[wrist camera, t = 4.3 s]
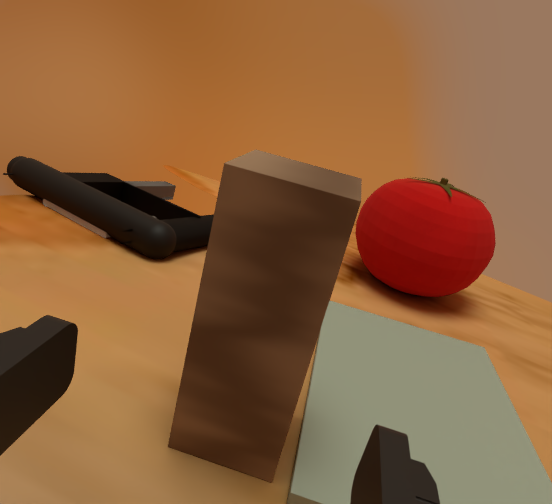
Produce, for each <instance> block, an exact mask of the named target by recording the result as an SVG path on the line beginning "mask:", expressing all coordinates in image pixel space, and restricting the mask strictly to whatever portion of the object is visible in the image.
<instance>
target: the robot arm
mask: <svg viewBox="0 0 552 504" xmlns="http://www.w3.org/2000/svg"><path fill="white" fill-rule="evenodd" d="M77 334H78V328H77V326H76V324H74V323H71V322H68V321H65V320H62V319H59V318H56V317H53V316H49V315H46V316H44V317H42V318H40V319H39V320H37V321H36V322H34V323H33V324H31V325H30V326H28V327H27V328H22V327H19V328H16V329H12V330H9V331H6V332H3V333H0V455H1V454H2V453H3V452H4V451H5V450H7V449H8V448H9V447H10V446H11V445H12V444H13V443H14V442H15V441H16V440H17V439H18V438H19V437H20V436H21V435H22V434H23V433H24V432H25V431H26V430H27V429H28V428H29V427H30V426H31V425H32V424H33V423H34V422H35V421H36V420H38V419H39V418H40V417H41V416H42V415H43V414H44V413H45V412H46V411H47V410H48V409H49V408H50V407H51V406H52V405H53V404H54V403H55V402H56V401H57V400H58V399H59V398H60V397H61V396H62V395H63V394H64V393H65V391H66V390H67V388H68V387H69V385H70V383H71V380H72V378H73V374H74V366H75V355H76V345H77ZM350 504H440V500H439V495H438V489H437V484H436V482H435V480H434V479H433V477H432V475H431V474H430V472H429V470H428V468H427V467H426V465H425V463H422V462H419V461H416V460H413V459H411V456H410V448H409V441H408V436H407V434H405V433H402V432H399V431H396V430H393V429H390V428H387V427H384V426H381V425H378V424H377V425H375V427H374V428H373V430H372V433H371V435H370V438H369V440H368V442H367V445H366V447H365V450H364V452H363V455H362V457H361V460H360V462H359V465H358V467H357V470H356V473H355V476H354V480H353V484H352V490H351V503H350Z"/></svg>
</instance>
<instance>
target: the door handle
mask: <svg viewBox="0 0 552 504" xmlns="http://www.w3.org/2000/svg"><path fill="white" fill-rule="evenodd" d="M4 175H8V176H9V177H10V178H11V179H12V180H13V182H14V183H15V184H16V185H17V186H19V187H20V188H22V189H24V190H26V191H28V192H30V193H31V194H33V195H35V196H37V197H39V198H41V199H42V200H43V205H44V206H46V207H49V208H51V209H52V210H54V211H56V212H58V213H60V214H62V215H63V216H65V217H67V218H69V219H71V220H73V221H74V222H76V223H78V224H80V225H82V226H84V227H85V228H87V229H89V230H91V231H93V232H95V233H96V234H98V235H100V236H102V237H104V238H109V237H113V238H114V239H116V240H118V241H120V242H122V243H119V244H125V245H127V246H129V247H131V248H133V249H135V250H137V251H138V252H140V253H142V254H144V255H146V256H148V257H150V258H153V259H161V258H165V257H167V256H168V255H170V254H171V253H172V252H175V251H180V250H185V249H191V248H196V247H201V246H206V245H208V243H209V238H210V233H211V227H212V222H213V217H214V215H205V216H199V215H197V214H195V213H193V212H190V211H188V210H186V209H184V208H182V207H179V206H177V205H175V204H173V203H171V202H168V201H166V200H172V199H173V196H174V192H175V185H172V184H170V183H168V182H147V181H145V182H143V181H142V182H141V181H139V182H138V181H134V182H130V181H128V182H127V181H122V180H120V179H118V178H116V177H114V176H111V175H109V174H107V173H62V172H60V171H58V170H55V169H53V168H51V167H49V166H47V165H45V164H43V163H41V162H39V161H37V160H35V159H31V158H26V157H23V156H19V157H16V158H14V159H12V160H11V161H10V162H9V164H8V167H7V173H4Z"/></svg>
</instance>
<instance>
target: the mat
mask: <svg viewBox="0 0 552 504" xmlns="http://www.w3.org/2000/svg"><path fill="white" fill-rule="evenodd" d="M377 424H378V425H381V426H384V427H387V428H390V429H393V430H396V431H399V432H402V433H405V434H407V436H408V441H409V448H410V456H411V459H413V460H416V461H419V462H422V463H425V465H426V467H427V468H428V470H429V472H430V474H431V475H432V477H433V479H434V480H435V482H436V484H437V489H438V495H439V500H440V504H552V483H551V481H550V479H549V477H548V475H547V473H546V471H545V469H544V467H543V465H542V463H541V461H540V459H539V457H538V455H537V453H536V451H535V449H534V447H533V445H532V443H531V441H530V439H529V437H528V435H527V433H526V431H525V429H524V427H523V425H522V423H521V421H520V419H519V416H518V414H517V412H516V410H515V408H514V406H513V404H512V402H511V400H510V398H509V396H508V394H507V392H506V390H505V388H504V386H503V384H502V382H501V380H500V378H499V376H498V374H497V372H496V370H495V368H494V366H493V364H492V362H491V360H490V358H489V356H488V354H487V352H486V350H485V348H484V347H481V346H478V345H475V344H471V343H468V342H465V341H461V340H458V339H455V338H451V337H448V336H445V335H442V334H438V333H435V332H432V331H428V330H425V329H422V328H418V327H415V326H412V325H409V324H405V323H402V322H399V321H395V320H392V319H389V318H386V317H382V316H379V315H376V314H372V313H369V312H366V311H362V310H359V309H356V308H353V307H349V306H346V305H343V304H339V303H336V302H333V301H329V304H328V307H327V310H326V313H325V316H324V319H323V323H322V326H321V329H320V332H319V336H318V342H317V347H316V352H315V357H314V363H313V368H312V373H311V378H310V384H309V389H308V394H307V399H306V405H305V410H304V415H303V420H302V426H301V431H300V436H299V441H298V447H297V452H296V457H295V462H294V468H293V473H292V478H291V483H290V489H289V494H288V499H287V504H350V503H351V490H352V484H353V480H354V476H355V473H356V470H357V467H358V465H359V462H360V460H361V457H362V455H363V452H364V450H365V447H366V445H367V442H368V440H369V438H370V435H371V433H372V430H373V428H374V427H375V425H377Z"/></svg>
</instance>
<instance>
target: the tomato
mask: <svg viewBox="0 0 552 504" xmlns="http://www.w3.org/2000/svg"><path fill="white" fill-rule="evenodd" d="M424 179H425V178H424ZM427 180H430V179H427ZM431 181H433V182H431ZM447 183H448V180H447V179H445V178H442V179H441V182H437V181H434V180H430V181H425V180H419V179H412V178H407V179H398V180H394V181H391V182H389V183H386V184H384V185H383V186H381V187H380V188H378V189H377V190H376V191H375V192H374V193H373V194H372V195H371V196H370V197H369V198H368V199H367V200H366V202H365V203H364V205H363V207H362V208H361V211H360V214H359V217H358V220H357V224H356V239H357V246H358V250H359V253H360V255H361V258H362V261H363V263H364V264H365V266H366V267H367V268H368V270H369V271H370V272H371V274H372V275H374V276H375V277H376V278H377V279H379V280H380V281H382V282H383V283H385V284H387V285H388V286H390V287H392V288H394V289H396V290H399V291H401V292H405V293H408V294H413V295H420V296H428V297H441V296H445V295H450V294H453V293H456V292H458V291H460V290H462V289H465V288H467V287H468V286H469V285H470V284H472V283H473V282H474V281H475V280H476V279H477V278H478V277H479V276H480V274H481V273H482V272H483V271H484V269H485V268H486V267H487V265H488V264H489V262H490V260H491V258H492V257H493V253H494V248H495V231H494V225H493V221H492V217H491V214H490V213H489V211H488V210H487V209H486V207H485V206H484V204H483V203H482V202H481V201H479V200H478V198H477V199H476V197H474V196H472V195H470V194H468V193H467V192H464V191H462V190H460V189H457V188H454V187H452V186H453V185H451V184H447Z"/></svg>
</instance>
